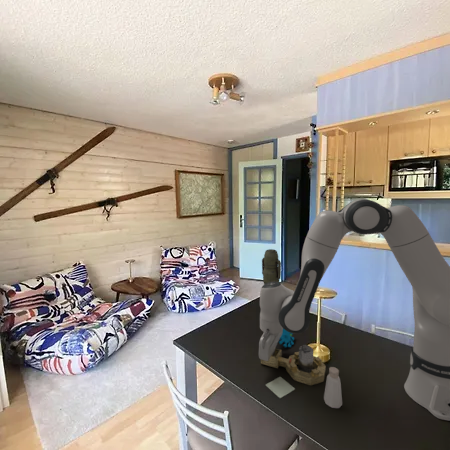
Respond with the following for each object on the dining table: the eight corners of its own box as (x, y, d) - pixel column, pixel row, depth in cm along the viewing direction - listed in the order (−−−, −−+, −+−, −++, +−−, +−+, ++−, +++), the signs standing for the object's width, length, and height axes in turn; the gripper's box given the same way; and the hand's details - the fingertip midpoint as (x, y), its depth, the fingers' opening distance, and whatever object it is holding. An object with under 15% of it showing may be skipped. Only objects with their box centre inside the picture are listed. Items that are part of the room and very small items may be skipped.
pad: (280, 377, 92) (280, 376, 92) (295, 389, 86) (295, 388, 86) (265, 385, 88) (265, 384, 88) (280, 398, 82) (280, 398, 82)
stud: (316, 369, 95) (317, 344, 94) (314, 381, 89) (314, 355, 88) (298, 364, 98) (298, 340, 97) (294, 375, 92) (294, 350, 91)
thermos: (266, 306, 150) (266, 247, 146) (284, 311, 142) (284, 250, 138) (257, 311, 143) (257, 250, 139) (276, 317, 136) (276, 253, 131)
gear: (283, 349, 105) (272, 325, 111) (274, 353, 109) (265, 330, 115) (300, 343, 112) (289, 321, 117) (292, 348, 115) (282, 326, 121)
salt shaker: (331, 410, 77) (332, 377, 76) (320, 397, 82) (320, 365, 81) (346, 406, 79) (347, 373, 77) (334, 393, 84) (335, 362, 82)
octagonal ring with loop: (326, 366, 97) (326, 355, 96) (322, 389, 85) (322, 378, 85) (268, 350, 107) (268, 340, 106) (257, 369, 95) (257, 358, 95)
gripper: (271, 339, 87) (271, 376, 89) (285, 314, 105) (285, 345, 107) (254, 335, 90) (254, 371, 92) (271, 311, 108) (271, 341, 110)
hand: (271, 357), depth 99 cm, fingers closed
